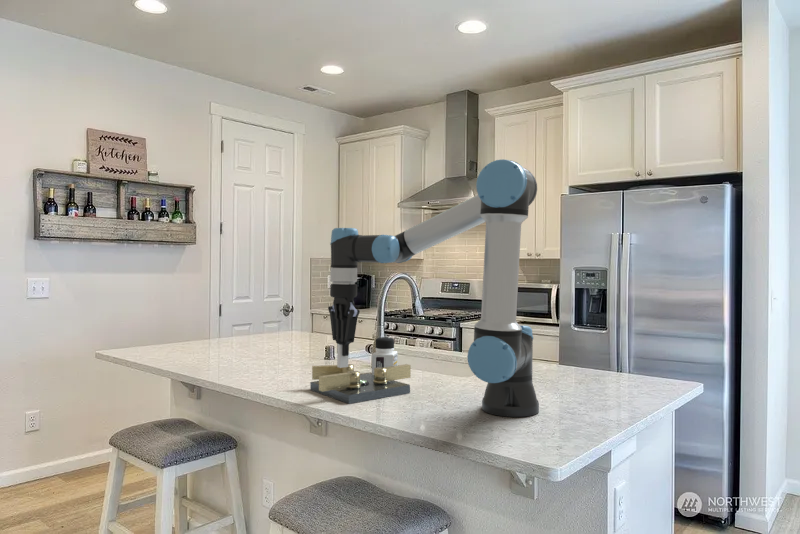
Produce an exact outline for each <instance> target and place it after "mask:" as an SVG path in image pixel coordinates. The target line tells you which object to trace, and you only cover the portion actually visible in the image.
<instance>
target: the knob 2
mask: <svg viewBox="0 0 800 534" xmlns="http://www.w3.org/2000/svg"><path fill="white" fill-rule="evenodd" d="M411 367H412V366H411V364H407V363H406V364H398V365H397V366H390V367H378V368H374V380H373V383H375V384H386V383H388V381H393V380H394V381H398V380H405V379H409V378H410V379H411V371H412V370H411Z"/></svg>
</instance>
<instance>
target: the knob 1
mask: <svg viewBox="0 0 800 534" xmlns="http://www.w3.org/2000/svg"><path fill="white" fill-rule="evenodd" d="M360 375H361V371H356V370H354V371H349V372H346V373H340V374H333V375H325V376H319V379H318V381H319V391H322V392H323V391H329V390H336V389H342V388H352V389H353V388H360V387H361V384H360Z"/></svg>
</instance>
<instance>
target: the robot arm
mask: <svg viewBox="0 0 800 534" xmlns="http://www.w3.org/2000/svg"><path fill="white" fill-rule="evenodd" d="M475 185H476V187H475V188H476V192H477V193H476V194H477V195H475V196H473V197H471V198H469V199H467V200H465V201H463V202H461V203H459V204H456V205H454V206H452V207H451V208H448V209H446V210H445V211H444V210H443V212H440V213H439V214H436V215H434V216H432V217H430V218H428V219H426V220H423V221H422V222H420V223H418V224H416V225H414V226H411V227H409V228H408V229H406V230H404V231H402V232H400V233H398V234H395V235H391V234H369V235H366V234H365V235H362V234H359V231H358V229H357V228H355V227H335V228H333V229H332V230H331V236H330V237H331V238H330V242H329V245H330V277H329V278H330V281H329V282H331V283H330V287H329V288H330V289H329V290H330V292H329V293H330V297H332V298H334V299H333V300H332V305H329V306H328V307H327V310H328V312H329V319H330V327H331V337H332V340H333V341H335V343H336V345H337V346H336V347H337V348H336V349H337V350H336V353H337V354H336V355H337V359H336V360H337V363H336V365H337V367H339V368H343V367H348V364H349V355H350V352H349V351H350V344H353V343H354V342H355V336H356V330H357V323H358V317H359V315H360V309H357V308H356V307H355V301H354V300H355V299H354V298H357V296H358V285H357V282H358V263H375V264H377V263H378V264H379V263H380V264H389V263H396V264H400V263H401V264H402V263H405V262H407V261H410V260H411V259H412V258H413V256H415V255H417V254H419V253H421V252H423V251H426V250H427V249H430V248H432V247H434V246H436V245H439V244H441V243H443V242H445V241H447V240H450V239H451V238H453V237H456V236H458V235H460V234H462V233H464V232H467V231H469V230H470V229H473V228H475V227H478V226H479V225H482V224H484V223H485V235H484V255H483V272H482V273H483V276H482V290H481V291H482V294H481V311H480V313H481V314H480V319H479V320H478V321H477V322H476V323H475V324H474V327H473V329H474V331H473V342H472V343H471V344H470V347H469V348H468V351H467V363H468V367H469V369H470V371H471V372H472V373H473V374H474V376H475V377H476V378H477V379H479V380H481V381H482V382H484V383H487V384H486V387H485V390H484V391H485V392H484V394H483V397H482V400H481V409H482V411H483V412H485V413H486V414H487V413H488V414H490V415H495V416H500V417H508V418H511V417H512V418H519V417H520V418H521V417H530V416H534V415H537V414H538V413H539V412H540V403H539V400H538V398H537V393H536V390H535V387H534V386H535V385H534V382H533V340H534V336H533V329H532V327H531V326H529V325H520V324H519V323H518V321H517V311H518V309H517V308H518V291H519V290H518V289H519V272H520V256H521V255H520V253H521V235H522V224H523V223H524V222H525V220H527V219H528V218H529V208H530V207H529V206H531V204H532V203H533V202H534V201H535V199H536V196H537V192H538V183H537V180H536V177H535V176H534V175H533V173H532V172H531V171H530V170H528V169H527V168H525V167H523V166H522V165H521V164H519V163H518V162H517V161H515V160H509V159H496V160H493V161H491V162H489V163H487V164H486V165H485V166H483V168H482V169H481V171H480V172H479V174H478V176H477V179H476V184H475Z"/></svg>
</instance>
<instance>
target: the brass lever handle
mask: <svg viewBox="0 0 800 534" xmlns="http://www.w3.org/2000/svg"><path fill="white" fill-rule="evenodd" d="M354 369H355V365H354V364H352V363H348V367H343V368H339V367H337V364H326V365H312V366H311V379H312V380H314V381H319V376H325V375H333V374H340V373H346V372H349V371H355V370H354Z"/></svg>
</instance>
